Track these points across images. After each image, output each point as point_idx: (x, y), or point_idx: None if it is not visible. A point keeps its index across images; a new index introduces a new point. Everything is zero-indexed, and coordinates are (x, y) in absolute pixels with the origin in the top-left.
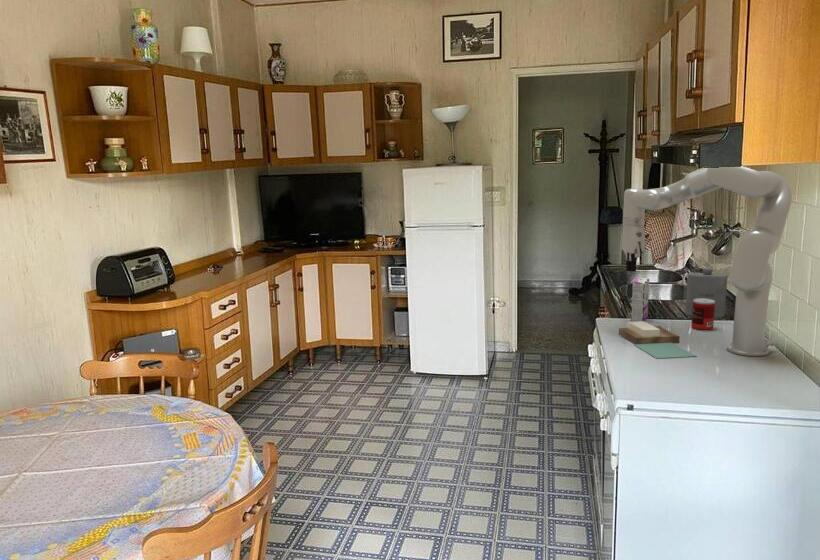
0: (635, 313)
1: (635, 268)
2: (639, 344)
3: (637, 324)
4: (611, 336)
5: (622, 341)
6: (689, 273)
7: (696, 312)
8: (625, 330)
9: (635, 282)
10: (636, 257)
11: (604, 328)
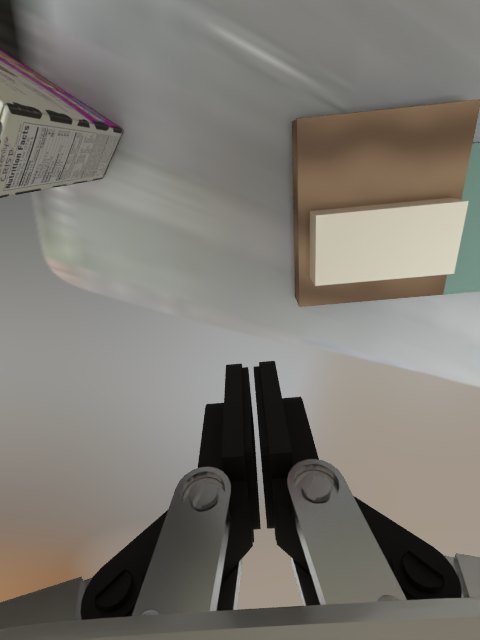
0: (95, 164)
1: (276, 381)
2: None
3: (364, 265)
4: (313, 326)
5: (376, 313)
6: None
7: None
8: (337, 296)
9: None
10: (465, 573)
11: (210, 317)
